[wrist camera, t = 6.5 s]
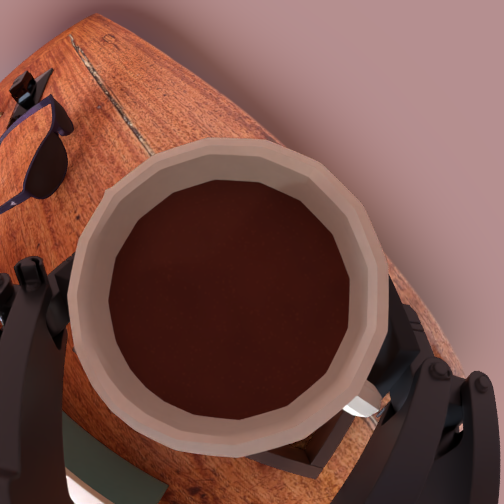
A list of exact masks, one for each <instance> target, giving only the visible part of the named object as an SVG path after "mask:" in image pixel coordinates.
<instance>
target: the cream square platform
mask: <svg viewBox="0 0 504 504" xmlns="http://www.w3.org/2000/svg"><path fill="white" fill-rule="evenodd" d="M62 433H63V450H64V461H65V470H66V478H67V485H68V491H69V495H70V497H71V499H72V500H73V502H74V503H75V504H158V503H159V501H160V499H161V498H162V496H163V495H164V493H165V491H166V490H167V488H168V487H169V485H167V484H165V483H163V482H161V481H159V480H158V479H156V478H154V477H152V476H150V475H149V474H147V473H145V472H144V471H142V470H140V469H139V468H137V467H135V466H134V465H132V464H131V463H129V462H128V461H126V460H124V459H123V458H121V457H120V456H119V455H117V454H116V453H114V452H113V451H111V450H110V449H109V448H107V447H106V446H104V445H103V444H102V443H100V442H99V441H98V440H97V439H95V438H94V437H93V436H91V435H90V434H89V433H88V432H86V431H85V430H84V429H83V428H82V427H80V426H79V425H78V424H77V423H76V422H75V421H73V420H72V419H71V418H70V417H69V416H68V415H67V414H66V413H65V412H63V411H62Z"/></svg>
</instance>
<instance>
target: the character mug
mask: <svg viewBox="0 0 504 504" xmlns="http://www.w3.org/2000/svg"><path fill="white" fill-rule="evenodd" d="M67 298H68V307H69V316H70V323H71V330H72V336H73V342H74V348H75V351H76V354H77V356H78V358H79V360H80V362H81V365H82V367H83V369H84V371H85V373H86V375H87V377H88V379H89V381H90V383H91V385H92V387H93V388H94V389H95V391H96V392H97V393H98V395H99V396H100V397H101V399H102V400H103V401H104V402H105V404H106V405H107V406H108V407H109V409H110V410H111V411H112V412H113V413H114V414H115V415H117V416H118V417H119V418H120V419H121V420H123V421H124V422H125V423H126V424H128V425H129V426H130V427H131V428H133V429H134V430H135V431H137V432H139V433H141V434H143V435H144V436H146V437H148V438H150V439H152V440H154V441H156V442H158V443H160V444H162V445H165V446H167V447H169V448H171V449H173V450H176V451H182V452H188V453H195V454H202V455H211V456H220V457H233V458H239V457H243V456H248V455H252V454H256V453H260V452H264V451H267V450H271V449H274V448H278V447H281V446H284V445H288V444H291V443H294V442H297V441H300V440H303V439H305V438H306V437H307V436H309V435H310V434H311V433H313V432H314V431H315V430H317V429H318V428H319V427H321V426H322V425H323V424H324V423H326V422H327V421H328V420H329V419H331V418H332V417H333V416H334V415H336V414H337V413H338V412H339V411H340V410H342V409H343V410H345V411H346V412H348V413H350V414H351V415H355V416H360V417H366V418H367V417H369V416H371V415H372V414H374V413H376V412H378V411H379V409H380V405H381V400H382V396H381V395H380V393H379V392H378V390H377V389H376V387H375V386H374V385H373V384H372V383H370V382H369V381H368V380H366V379H367V377H368V375H369V373H370V371H371V369H372V366H373V364H374V362H375V360H376V358H377V356H378V353H379V351H380V349H381V346H382V344H383V342H384V339H385V337H386V334H387V332H388V309H389V275H388V263H387V260H386V257H385V255H384V252H383V250H382V247H381V245H380V242H379V240H378V237H377V235H376V232H375V230H374V228H373V225H372V223H371V221H370V219H369V216H368V214H367V212H366V210H365V208H364V205H363V204H362V203H361V202H360V201H359V200H358V199H357V198H356V197H355V196H354V195H353V194H352V193H351V192H350V191H349V190H348V189H347V188H346V187H345V186H344V185H343V184H342V183H341V182H340V181H339V180H338V179H337V178H336V177H335V176H334V175H333V174H332V173H331V172H330V171H329V170H328V169H327V168H326V167H325V166H324V165H322V164H321V163H320V162H318V161H316V160H314V159H312V158H309V157H307V156H305V155H302V154H300V153H298V152H295V151H293V150H291V149H288V148H286V147H283V146H281V145H278V144H276V143H273V142H271V141H268V140H265V139H247V138H204V139H201V140H198V141H194V142H191V143H188V144H184V145H181V146H178V147H175V148H172V149H169V150H166V151H163V152H160V153H158V154H155V155H153V156H151V157H150V158H148V159H147V160H146V161H144V162H143V163H142V164H140V165H139V166H138V167H136V168H135V169H134V170H132V171H131V172H130V173H129V174H127V175H126V176H125V177H123V178H122V179H121V180H120V181H118V182H117V183H116V184H115V185H114V186H112V187H111V188H108V189H106V190H105V193H104V197H103V199H102V200H101V202H100V204H99V205H98V207H97V208H96V210H95V212H94V213H93V215H92V217H91V218H90V220H89V222H88V224H87V225H86V227H85V229H84V230H83V232H82V234H81V236H80V238H79V240H78V244H77V248H76V253H75V257H74V262H73V266H72V271H71V277H70V282H69V288H68V294H67Z"/></svg>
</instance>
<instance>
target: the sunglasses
mask: <svg viewBox="0 0 504 504" xmlns="http://www.w3.org/2000/svg"><path fill="white" fill-rule="evenodd" d="M48 104H51V107H52V125H51V128H50V130H49V132H48V134H47V135H46V137H45V138H44V140H43V141H42V143H41V144H40V146H39V148H38V149H37V151H36V153H35V155H34V157H33V159H32V161H31V163H30V165H29V168H28V170H27V173H26V176H25V179H24V182H23V190H22V192H20V193H19V194H18V195H16V196H14V197H13V198H11V199H10V200H9V201H7V202H6V203H4V204H3V205H2V206H0V214H2V213H4V212H6V211H7V210H9V209H11V208H13V207H14V206H16V205H18V204H20V203H22V202H23V201H25V200H27V199H28V198H30V197H34V198H36V199H45V198H48V197H49V196H51V195H52V194H53V193H54V192H55V191H56V190H57V189H58V188H59V186H60V185H61V183H62V181H63V180H64V177H65V175H66V172H67V167H68V158H67V153H66V150H65V147H64V145H63V143H62V141H61V139H60V138H59V134H60V135H61V136H67V135H70V134H71V133H72V132H73V131H74V127H73V123H72V121H71V120H70V118H69V117H68V115H67V113H66V111H65V110H64V108H63V107H62V106H61V105H60V104H59V103H58V102H57V101H56V100H55V99H54V98H53V96H52V95H51V94H50V95H49V96H48V97H46V98H45V99H43V100H41V101H40V102H39V103H37V104H36V105H34V106H33V107H32V108H30V109H29V110H28V111H26V112H25V113H24V114H23V115H22V116H20V117H19V118H18V119H17V120H16V121H15V122H14V123H13V124H12V125H11V126H10V127H9V128H8V129H7V130H6V131H5V132H4V134H3V135H2V136H1V138H0V145H1V142H2V141H3V139H4V138H5V137H6V136H7V135H8V133H9V132H10V131H11V130H13V129H14V128H15V127H16V126H17V125H18V124H20V123H21V122H22V121H24V120H25V119H26V118H28V117H29V116H31V115H32V114H34V113H35V112H37V111H38V110H40V109H41V108H43V107H45V106H47V105H48ZM58 133H59V134H58Z"/></svg>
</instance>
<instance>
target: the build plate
mask: <svg viewBox="0 0 504 504" xmlns="http://www.w3.org/2000/svg"><path fill="white" fill-rule="evenodd" d="M52 72H53V69H52V68H51V69H49V70H48V71H46V72H45V73H43V74H42V75H40V76H39V77H37V78H36V79H34V78H33V76H32V75H31V73H29V72H28V71H26V72H24V73H23V74H22V75H20V76H19V77H18V78H16V79H15V81H14V83H13V85H12V86H11V88H10V90H9V91H10V93H11V94H12V95H11V96H12V97H13V98H14V99H15V101H16V102H17V104H16V106H15V108H14V111H13V113H12V116H11V118H10V121H9V123H8V126H7V129H8V128H9V127H10V126H11V125H12V124H13V123H14V122H15V121H16V120H17V119H18V118H19V117H20V116H22V115H23V114H24V113H25V112H26V111H28V110H29V109H30V108H32V107H33V106H34V105H36V104H37V103H39V102H40V99H41V97H42V94H43V91H44V89H45V86H46V84H47V82H48V79H49V77H50V75H51V74H52ZM16 97H17V98H16Z"/></svg>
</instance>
